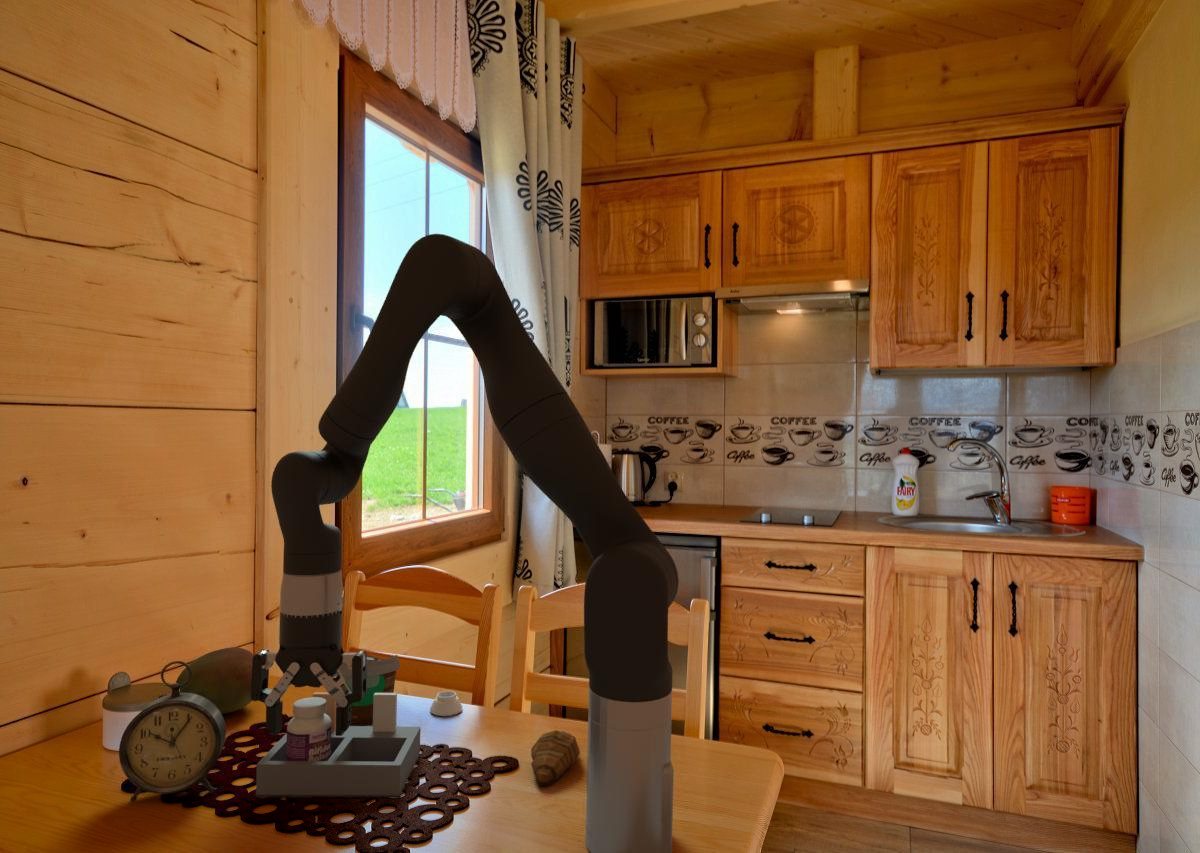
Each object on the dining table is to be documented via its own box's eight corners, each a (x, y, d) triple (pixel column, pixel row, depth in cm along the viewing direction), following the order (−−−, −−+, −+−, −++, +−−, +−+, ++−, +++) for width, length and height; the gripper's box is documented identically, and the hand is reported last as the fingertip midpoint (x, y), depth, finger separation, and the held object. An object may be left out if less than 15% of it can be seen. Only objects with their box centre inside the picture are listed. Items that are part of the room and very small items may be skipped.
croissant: (568, 793, 94) (569, 753, 95) (517, 787, 96) (518, 748, 96) (588, 748, 108) (589, 714, 108) (543, 744, 109) (544, 710, 109)
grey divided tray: (419, 755, 104) (421, 690, 104) (399, 797, 92) (401, 724, 92) (292, 754, 103) (294, 689, 103) (255, 797, 91) (257, 723, 91)
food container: (306, 723, 114) (307, 657, 114) (331, 709, 120) (333, 646, 120) (376, 734, 111) (377, 666, 111) (398, 719, 117) (400, 655, 117)
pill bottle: (315, 789, 93) (316, 711, 93) (277, 784, 94) (278, 707, 94) (338, 770, 98) (339, 696, 98) (302, 765, 99) (303, 693, 99)
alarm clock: (116, 808, 88) (119, 670, 88) (131, 787, 93) (134, 657, 93) (218, 798, 91) (221, 664, 91) (227, 778, 96) (230, 651, 96)
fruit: (253, 723, 114) (255, 658, 114) (161, 730, 111) (163, 663, 111) (266, 697, 125) (268, 637, 125) (183, 702, 122) (184, 641, 122)
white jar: (434, 706, 123) (426, 717, 118) (435, 688, 123) (427, 699, 118) (464, 707, 123) (458, 718, 118) (465, 689, 123) (458, 700, 118)
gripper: (242, 612, 92) (239, 745, 92) (359, 614, 93) (356, 746, 93) (267, 598, 100) (264, 721, 100) (375, 600, 100) (372, 722, 100)
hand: (308, 733), depth 96 cm, fingers open, 8 cm apart
